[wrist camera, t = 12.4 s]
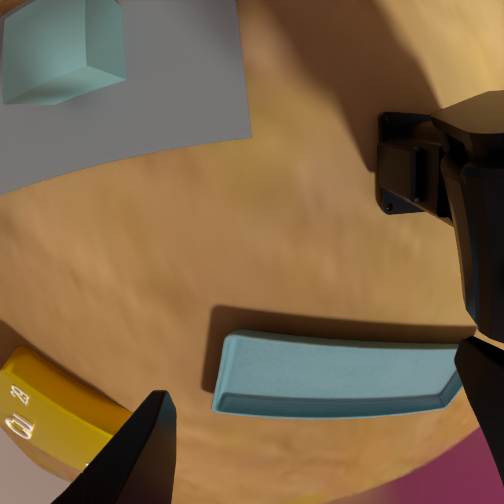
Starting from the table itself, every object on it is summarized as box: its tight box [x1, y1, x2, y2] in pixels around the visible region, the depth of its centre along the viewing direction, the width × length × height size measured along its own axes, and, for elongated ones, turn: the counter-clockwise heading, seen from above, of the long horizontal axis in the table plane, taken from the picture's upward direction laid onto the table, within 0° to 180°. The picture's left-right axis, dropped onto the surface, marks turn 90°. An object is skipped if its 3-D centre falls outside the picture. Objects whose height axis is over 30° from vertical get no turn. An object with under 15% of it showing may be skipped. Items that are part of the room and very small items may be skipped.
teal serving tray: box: [211, 329, 463, 419], centre depth 24 cm, size 26×9×2 cm, turn 79°
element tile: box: [0, 346, 133, 472], centre depth 24 cm, size 15×15×5 cm
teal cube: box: [2, 0, 126, 105], centre depth 10 cm, size 5×5×5 cm
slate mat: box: [0, 0, 252, 195], centre depth 13 cm, size 18×14×1 cm
